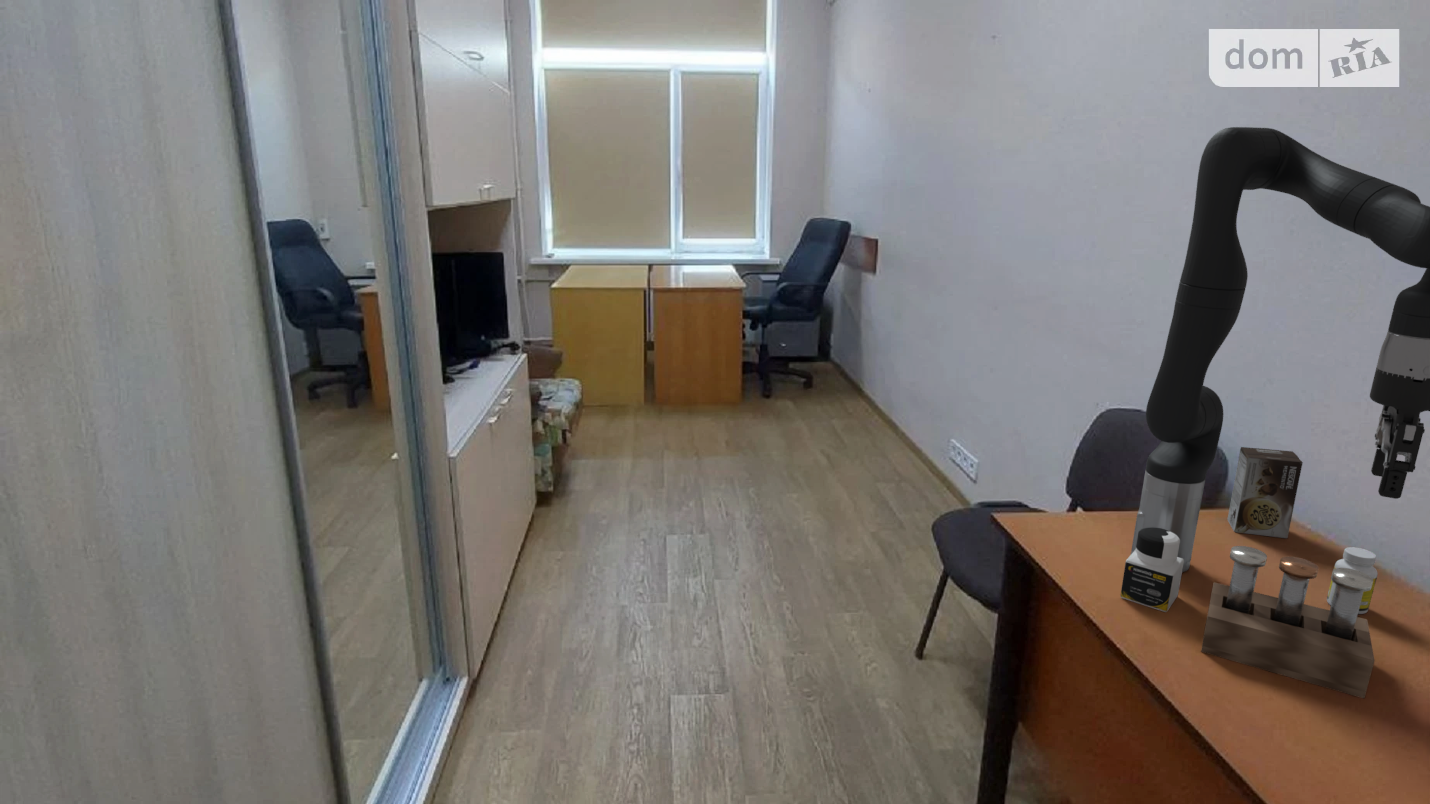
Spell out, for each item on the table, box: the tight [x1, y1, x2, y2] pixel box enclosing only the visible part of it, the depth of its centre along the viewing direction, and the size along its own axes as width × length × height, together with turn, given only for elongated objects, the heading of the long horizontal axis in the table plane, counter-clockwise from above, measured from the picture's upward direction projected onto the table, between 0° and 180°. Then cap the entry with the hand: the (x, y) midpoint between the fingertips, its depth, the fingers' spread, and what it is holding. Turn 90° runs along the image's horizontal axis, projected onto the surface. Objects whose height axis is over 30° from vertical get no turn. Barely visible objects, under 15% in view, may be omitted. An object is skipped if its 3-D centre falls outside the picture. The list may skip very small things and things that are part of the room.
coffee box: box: [1226, 446, 1304, 539], centre depth 152 cm, size 9×6×16 cm
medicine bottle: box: [1119, 527, 1184, 613], centre depth 128 cm, size 7×7×12 cm
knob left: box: [1225, 545, 1268, 614], centre depth 115 cm, size 4×4×10 cm
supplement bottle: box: [1326, 546, 1379, 615], centre depth 125 cm, size 5×5×10 cm
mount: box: [1200, 581, 1375, 699], centre depth 114 cm, size 19×12×6 cm, turn 55°
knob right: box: [1324, 568, 1373, 640], centre depth 108 cm, size 4×4×10 cm
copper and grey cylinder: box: [1273, 556, 1319, 627], centre depth 112 cm, size 4×4×10 cm
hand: (1384, 485), depth 104 cm, fingers open, 8 cm apart
